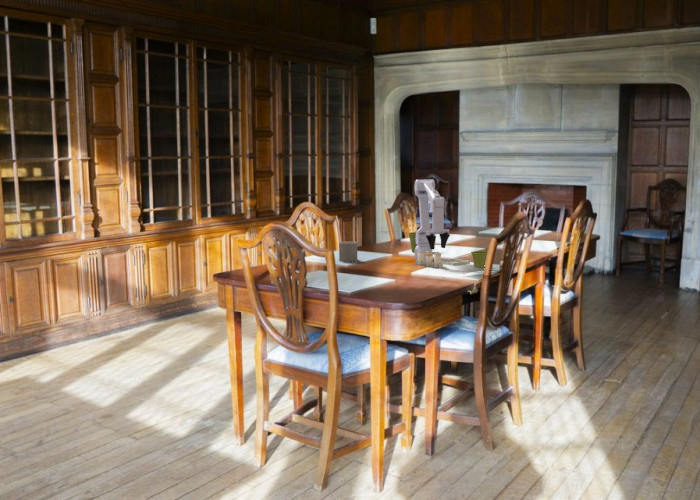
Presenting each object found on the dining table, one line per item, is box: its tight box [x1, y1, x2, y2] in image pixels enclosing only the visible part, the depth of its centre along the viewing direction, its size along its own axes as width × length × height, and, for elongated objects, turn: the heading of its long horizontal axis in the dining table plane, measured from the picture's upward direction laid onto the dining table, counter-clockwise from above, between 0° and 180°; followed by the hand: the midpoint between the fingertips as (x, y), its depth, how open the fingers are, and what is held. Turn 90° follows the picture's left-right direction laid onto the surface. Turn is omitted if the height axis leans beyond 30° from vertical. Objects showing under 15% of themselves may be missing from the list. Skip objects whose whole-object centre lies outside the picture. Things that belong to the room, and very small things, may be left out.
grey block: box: [338, 240, 358, 263], centre depth 395 cm, size 13×10×10 cm
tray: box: [441, 257, 471, 266], centre depth 372 cm, size 12×12×3 cm
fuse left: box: [417, 250, 425, 266], centre depth 367 cm, size 3×3×7 cm
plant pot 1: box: [407, 231, 425, 253], centre depth 424 cm, size 12×12×11 cm
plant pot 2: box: [470, 250, 488, 268], centre depth 359 cm, size 9×9×9 cm
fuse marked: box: [426, 251, 434, 266], centre depth 362 cm, size 4×4×7 cm
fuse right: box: [433, 252, 442, 269], centre depth 358 cm, size 3×3×7 cm
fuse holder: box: [411, 259, 448, 270], centre depth 363 cm, size 19×7×4 cm, turn 36°
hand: (437, 248), depth 362 cm, fingers open, 7 cm apart
